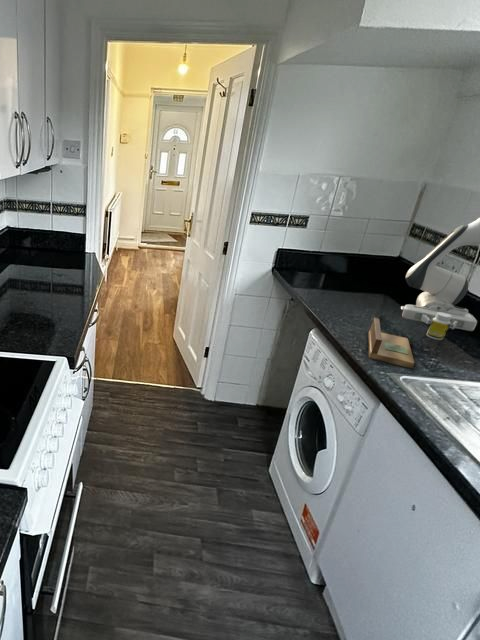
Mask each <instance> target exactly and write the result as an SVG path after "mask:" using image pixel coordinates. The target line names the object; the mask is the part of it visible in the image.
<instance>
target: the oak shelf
mask: <svg viewBox="0 0 480 640" xmlns="http://www.w3.org/2000/svg"><path fill="white" fill-rule="evenodd" d="M367 339H368V358H370V359H374V360H377V361H380V362H381V361H382V362H385V363H389V364H393V365H396V366H399V367H400V366H401V367H405V368H408V369H413V368H414V366H415V360H414V356H413V352H412V348H411V345H410V342H409V341H410V340H409V338H408V337H403V336H398V335H394V334H389V333H386V332H382V330H381V322H380V318H378V317H373V320H372V323H371V326H370V328H369V330H368V333H367Z"/></svg>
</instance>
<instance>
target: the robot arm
mask: <svg viewBox="0 0 480 640" xmlns="http://www.w3.org/2000/svg"><path fill="white" fill-rule="evenodd" d="M464 246H480V217H478V218H477V219H475V220H474V221H472V222H470V223H467V224H461V225H460V226H457V227H456V228H455V229H453V230H452V231H451V232H449V234H448V235H446V236H445V237H444V238H443V239H442V240H441V241H440V242H439V243H437V244H436V246H434V247H433V248H432V249H431V250H430V251H429V252H428V253H427V254H426V255H424V257H422V258H421V259H420V260H418V261H417V262H416V263H414V265H412V266H411V267H410V268H409V269H408V270H407V272H406V274H405V281H406V283H407V285H408V287H411V288H412V289H413V288H414V289H416V290H421V291H423V292H421V293H419V295H417V298H416V300H415V304H410V303H409V304H405V305H401V306H400V310H401V311H402V313H401V317H402V318H404V319H405V320H412V321H417V322H422V323H425V324H426V325H429V326H430V325H432V322H433V318H435V317H436V314H437V313H438V312H441V313H446V314H449V315H451V316H452V317H451V320H450V325H449V327H448V330H455V329H458V330H462V331H468V332H473V331H475V329H476V326H477V325H478V319H476V317H474V315H473V314H471V313H470V312H469V309H467V308H466V307H465V308H464V307H461V306H457V304H459V302H461V301H462V300H463V299H464V297H465V296H466V294H467V293H468V290H469V281H468V277H466V276H464V275H462V274H459V273H456V272H454V271H451V270H448V269H445V268H442V267H440V266H438V265H437V264H438V263H439V262H440V261H441V260H442V259H444V258H445V257H446V256H448V254H449V253H451V252H452V251H453V250H454V249H456V248H459V247H464Z"/></svg>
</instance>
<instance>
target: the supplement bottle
mask: <svg viewBox="0 0 480 640" xmlns="http://www.w3.org/2000/svg"><path fill="white" fill-rule="evenodd" d="M451 317H452V316H451V315H449V314H446V313H441V312H438V313H437V314H436V317H435V318H433V322H432V325H429V327H428V329H427V332H426V336H427V337H428V338H430V339H433V340H436V341H442V340H444V338H445V336H446V334H447V332H448V330H449V328H448V327H449V325H450V320H451Z"/></svg>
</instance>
